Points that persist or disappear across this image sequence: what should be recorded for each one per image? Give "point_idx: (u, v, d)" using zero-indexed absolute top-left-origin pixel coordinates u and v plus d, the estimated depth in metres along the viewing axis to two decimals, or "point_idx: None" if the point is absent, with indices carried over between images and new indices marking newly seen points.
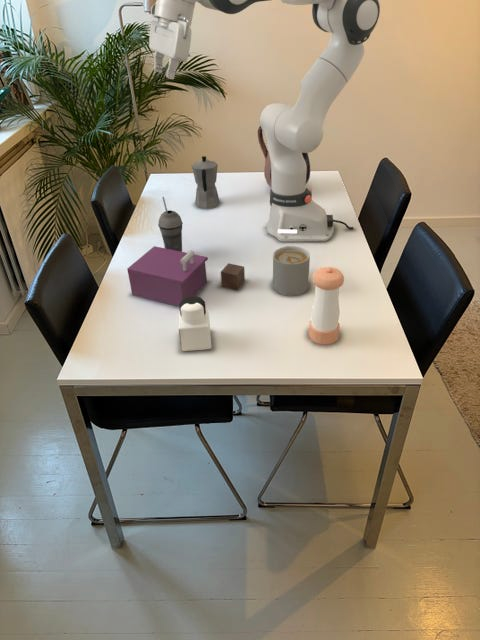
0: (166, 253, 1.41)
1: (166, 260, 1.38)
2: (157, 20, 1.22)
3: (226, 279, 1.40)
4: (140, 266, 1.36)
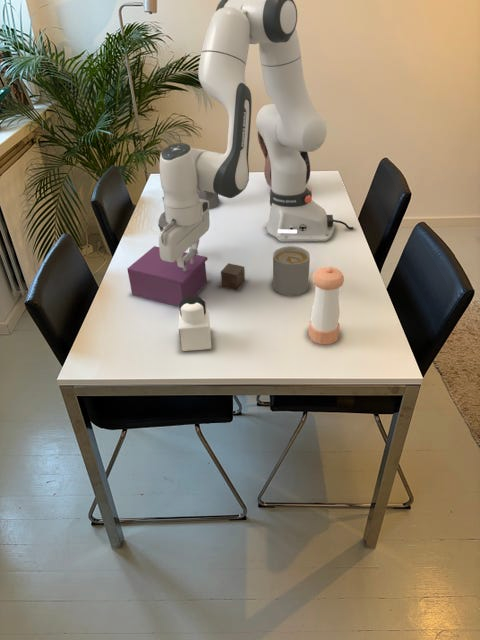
0: None
1: None
2: None
3: (226, 279, 1.40)
4: (140, 266, 1.36)
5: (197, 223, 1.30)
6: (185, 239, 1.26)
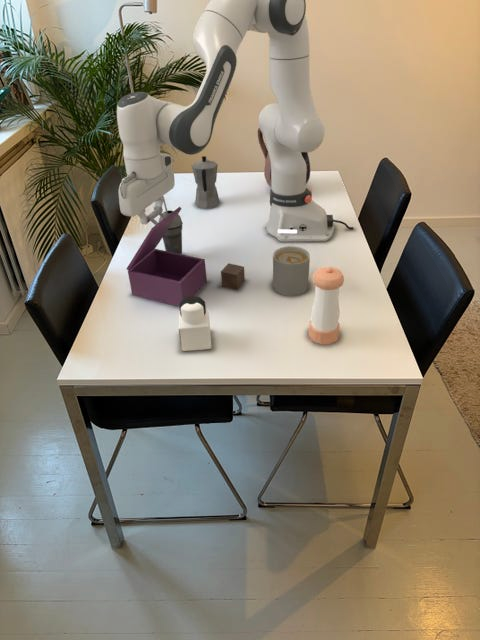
0: None
1: None
2: None
3: (226, 279, 1.40)
4: None
5: (160, 179, 1.27)
6: (147, 193, 1.23)
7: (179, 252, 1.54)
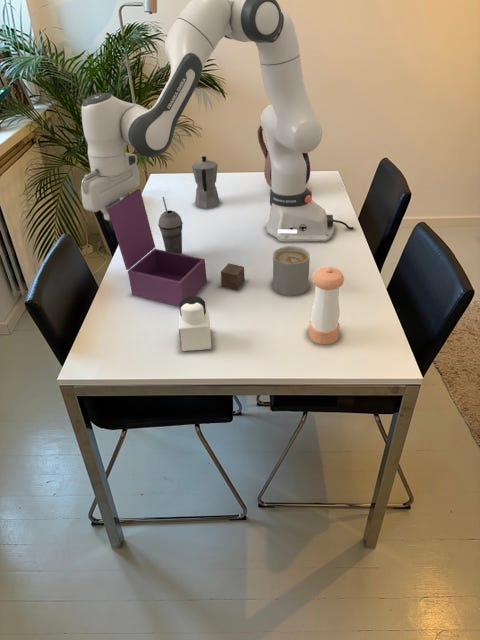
0: None
1: None
2: None
3: (226, 279, 1.40)
4: None
5: (124, 177, 1.32)
6: (110, 190, 1.28)
7: (179, 252, 1.54)
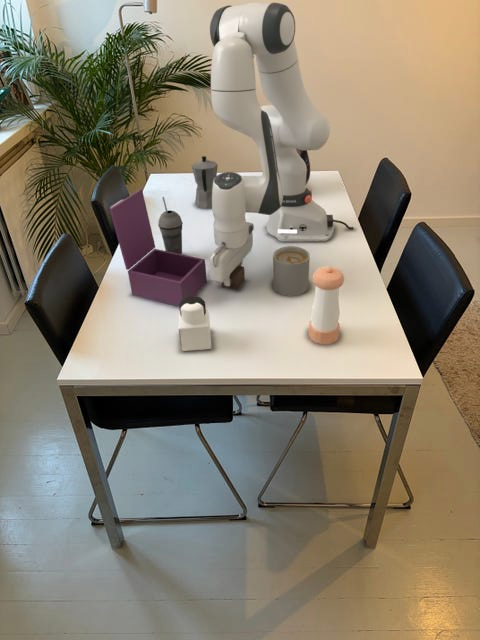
0: None
1: None
2: None
3: None
4: None
5: (242, 245, 1.39)
6: (233, 260, 1.35)
7: (179, 252, 1.54)
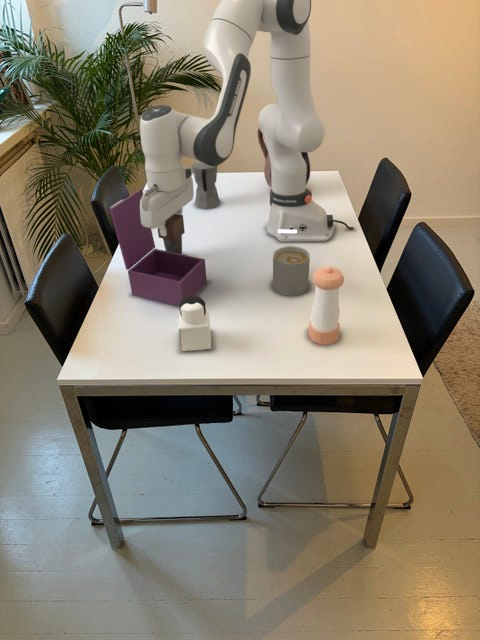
0: None
1: None
2: None
3: None
4: None
5: (180, 191, 1.28)
6: (167, 206, 1.23)
7: (179, 252, 1.54)
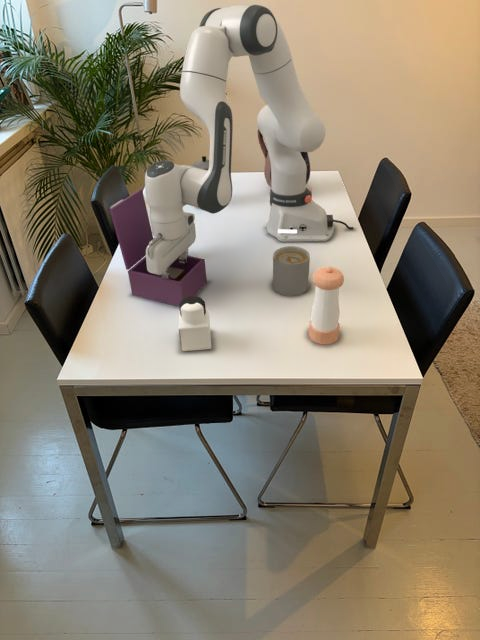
0: None
1: None
2: None
3: None
4: None
5: (183, 236, 1.35)
6: (171, 252, 1.31)
7: None
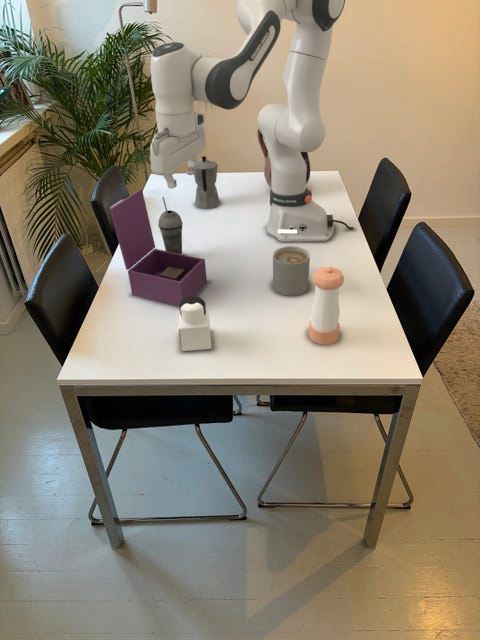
0: None
1: None
2: None
3: None
4: None
5: (192, 138, 1.22)
6: (179, 152, 1.17)
7: (179, 252, 1.54)
